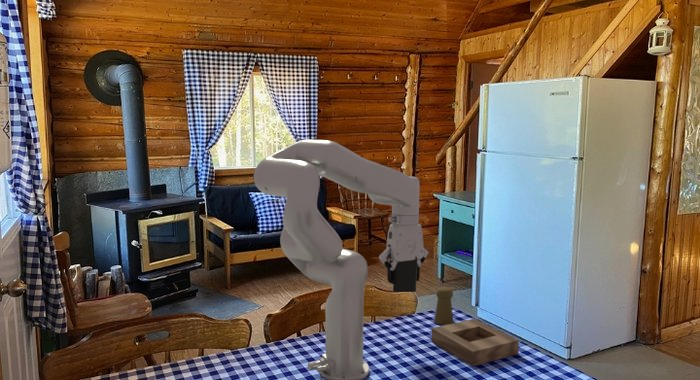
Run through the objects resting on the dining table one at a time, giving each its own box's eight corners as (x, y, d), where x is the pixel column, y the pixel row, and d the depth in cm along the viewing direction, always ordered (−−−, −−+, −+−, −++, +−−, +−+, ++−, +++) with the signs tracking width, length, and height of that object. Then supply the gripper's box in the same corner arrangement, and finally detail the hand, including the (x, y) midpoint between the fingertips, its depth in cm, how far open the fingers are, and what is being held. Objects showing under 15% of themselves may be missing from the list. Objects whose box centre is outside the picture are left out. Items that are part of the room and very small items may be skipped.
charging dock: (473, 366, 140) (473, 351, 140) (431, 341, 156) (431, 328, 155) (518, 353, 148) (518, 340, 147) (474, 331, 163) (474, 318, 163)
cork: (432, 323, 170) (433, 289, 168) (435, 317, 175) (436, 284, 174) (452, 325, 168) (453, 291, 166) (454, 319, 174) (455, 286, 172)
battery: (414, 288, 156) (415, 250, 155) (417, 292, 152) (418, 253, 151) (390, 288, 156) (391, 250, 154) (392, 292, 152) (393, 253, 151)
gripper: (385, 224, 144) (384, 288, 146) (438, 220, 152) (436, 281, 154) (371, 220, 151) (370, 281, 153) (422, 216, 159) (420, 274, 161)
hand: (403, 281), depth 154 cm, fingers closed on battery, 7 cm apart
